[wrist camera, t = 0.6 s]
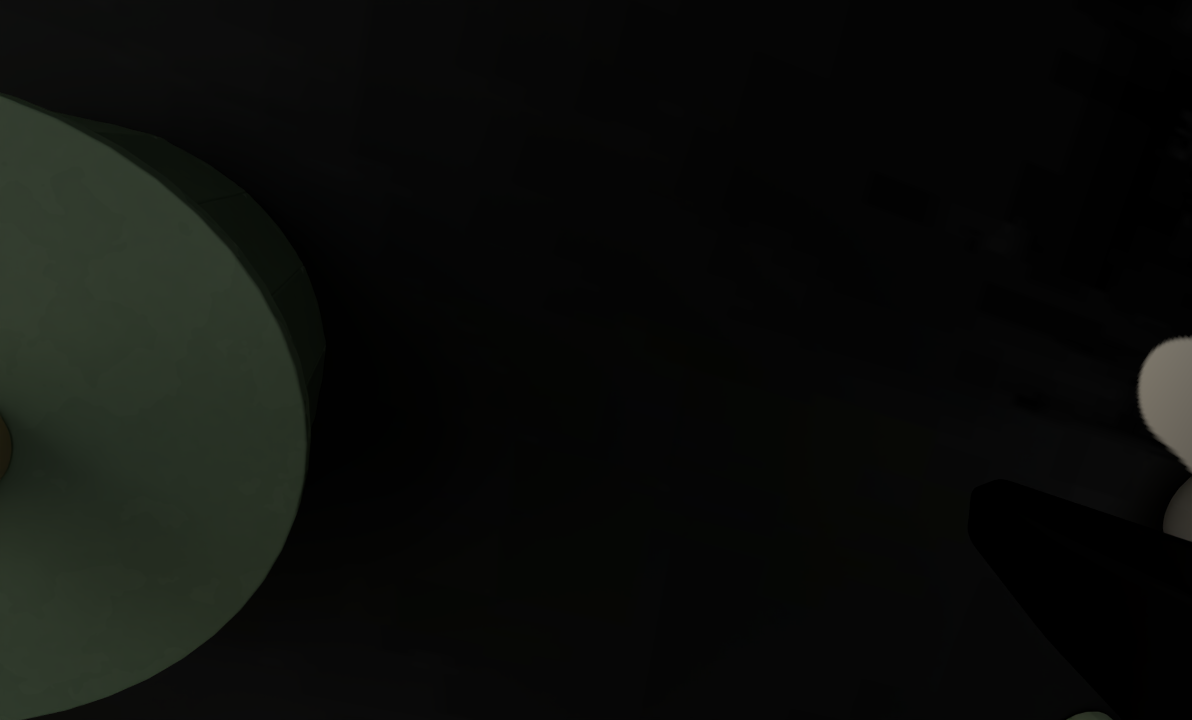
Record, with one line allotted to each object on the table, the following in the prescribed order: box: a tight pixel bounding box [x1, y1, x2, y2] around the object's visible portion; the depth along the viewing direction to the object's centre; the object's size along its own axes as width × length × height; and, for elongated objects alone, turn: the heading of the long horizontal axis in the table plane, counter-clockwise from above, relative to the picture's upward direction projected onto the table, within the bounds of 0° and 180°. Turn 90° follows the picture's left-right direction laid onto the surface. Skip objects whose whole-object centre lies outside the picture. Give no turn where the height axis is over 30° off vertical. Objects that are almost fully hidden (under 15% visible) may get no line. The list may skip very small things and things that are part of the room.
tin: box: [51, 111, 326, 427], centre depth 16 cm, size 12×12×6 cm
